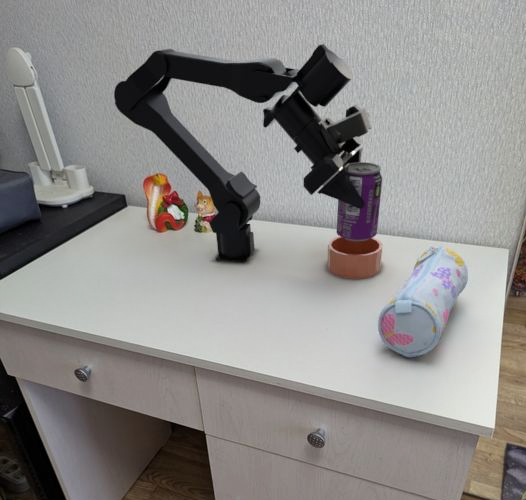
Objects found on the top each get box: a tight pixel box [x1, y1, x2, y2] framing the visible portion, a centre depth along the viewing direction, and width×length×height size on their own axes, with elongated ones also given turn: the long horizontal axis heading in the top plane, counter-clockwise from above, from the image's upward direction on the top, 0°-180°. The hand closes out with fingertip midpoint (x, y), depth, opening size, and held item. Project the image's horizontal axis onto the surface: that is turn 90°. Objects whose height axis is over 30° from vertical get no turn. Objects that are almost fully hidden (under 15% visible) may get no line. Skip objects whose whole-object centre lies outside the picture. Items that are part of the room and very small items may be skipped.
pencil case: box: [377, 245, 469, 358], centre depth 73 cm, size 21×9×10 cm, turn 151°
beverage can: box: [336, 161, 383, 241], centre depth 85 cm, size 7×7×12 cm
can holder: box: [326, 235, 384, 280], centre depth 92 cm, size 10×10×4 cm
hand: (367, 200), depth 84 cm, fingers closed on beverage can, 7 cm apart
